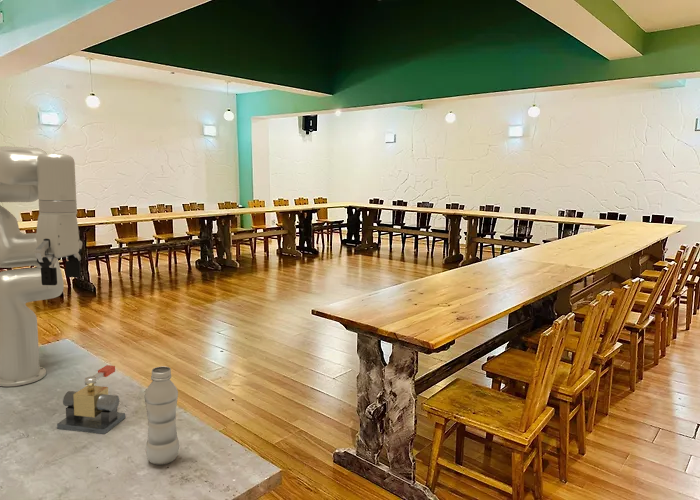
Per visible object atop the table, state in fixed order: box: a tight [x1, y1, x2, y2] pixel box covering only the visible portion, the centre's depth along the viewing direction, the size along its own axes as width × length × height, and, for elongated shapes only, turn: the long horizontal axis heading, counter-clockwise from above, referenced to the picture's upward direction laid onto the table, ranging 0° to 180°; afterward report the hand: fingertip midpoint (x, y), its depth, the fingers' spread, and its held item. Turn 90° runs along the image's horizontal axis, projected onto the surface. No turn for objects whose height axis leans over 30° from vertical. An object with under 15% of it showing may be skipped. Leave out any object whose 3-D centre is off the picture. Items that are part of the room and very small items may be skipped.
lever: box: [84, 364, 116, 386], centre depth 118 cm, size 9×2×2 cm, turn 172°
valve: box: [56, 384, 126, 435], centre depth 115 cm, size 12×8×10 cm, turn 82°
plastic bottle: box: [143, 366, 180, 466], centre depth 101 cm, size 6×7×20 cm
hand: (62, 280), depth 114 cm, fingers open, 9 cm apart
